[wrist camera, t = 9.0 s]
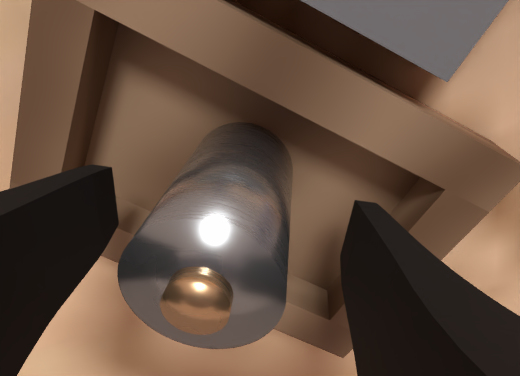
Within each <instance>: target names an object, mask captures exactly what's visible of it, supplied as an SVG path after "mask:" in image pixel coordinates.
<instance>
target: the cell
mask: <svg viewBox="0 0 520 376" xmlns="http://www.w3.org/2000/svg"><path fill="white" fill-rule="evenodd" d="M292 180H293V165H292V160H291V156H290V154H289V152H288V150H287V148H286V146H285V145H284V143H283V142H282V141H281V140H280V139H279V138H278V137H277V136H276V135H275V134H274V133H272V132H271V131H269V130H267V129H266V128H264V127H261V126H259V125H256V124H252V123H246V122H234V123H228V124H224V125H222V126H219V127H217V128H216V129H214V130H212V131H211V132H210V133H208V134H207V135H206V136H205V137H204V139H203V140H202V141H201V143H200V144H199V146H198V147H197V148H196V150H195V151H194V153H193V154H192V155H191V157H190V158H189V159H188V161H187V162H186V164H185V165H184V166H183V168H182V169H181V171H180V172H179V173H178V175H177V176H176V178H175V179H174V180H173V182H172V183H171V185H170V186H169V187H168V189H167V190H166V192H165V193H164V194H163V196H162V197H161V199H160V200H159V201H158V203H157V204H156V206H155V207H154V208H153V210H152V211H151V213H150V214H149V215H148V217H147V218H146V220H145V221H144V222H143V224H142V225H141V227H140V228H139V229H138V231H137V232H136V234H135V235H134V236H133V238H132V239H131V241H130V242H129V243H128V245H127V246H126V248H125V249H124V251H123V253H122V255H121V257H120V260H119V264H118V283H119V286H120V290H121V292H122V295H123V297H124V299H125V301H126V302H127V304H128V305H129V307H130V308H131V309H132V311H133V312H134V313H135V314H136V315H137V316H138V317H139V318H140V319H141V320H142V321H143V322H144V323H145V324H147V325H148V326H149V327H151V328H152V329H154V330H155V331H156V332H158V333H160V334H162V335H164V336H165V337H168V338H170V339H172V340H174V341H177V342H180V343H183V344H186V345H190V346H194V347H200V348H209V349H226V348H234V347H239V346H243V345H247V344H250V343H252V342H254V341H257V340H259V339H260V338H262V337H264V336H265V335H266V334H268V333H269V332H270V331H271V330H272V329H273V328H274V327H275V326H276V325H277V324H278V322H279V320H280V319H281V317H282V315H283V312H284V310H285V305H286V295H287V276H288V257H289V237H290V218H291V199H292Z"/></svg>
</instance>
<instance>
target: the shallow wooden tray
mask: <svg viewBox="0 0 520 376" xmlns="http://www.w3.org/2000/svg"><path fill="white" fill-rule="evenodd" d="M234 122H246V123H252V124H256V125H259V126H261V127H264V128H266V129H267V130H269V131H271V132H272V133H274V134H275V135H276V136H277V137H278V138H279V139H280V140H281V141H282V142H283V143H284V145H285V146H286V148H287V150H288V152H289V154H290V156H291V160H292V165H293V180H292V199H291V218H290V237H289V257H288V276H287V295H286V305H285V310H284V312H283V315H282V317H281V319H280V320H279V322H278V324H277V325H276V326H275V327H274V328H273V329H276V330H278V331H280V332H283V333H285V334H287V335H290V336H292V337H295V338H297V339H299V340H302V341H304V342H306V343H309V344H311V345H313V346H316V347H318V348H321V349H323V350H325V351H328V352H330V353H332V354H335V355H337V356H339V357H342V358H344V357H345V356H346V355H347V354H348V353H349V352H350V351H351V350H352V349H353V345H352V340H351V334H350V329H349V324H348V319H347V313H346V308H345V303H344V297H343V292H342V286H341V268H340V254H341V250H342V246H343V242H344V239H345V235H346V231H347V227H348V224H349V220H350V216H351V212H352V209H353V205H354V201H355V200H359V201H366V202H374V203H377V204H378V205H380V206H381V207H382V208H383V209H384V210H385V211H386V212H387V213H389V214H390V215H391V216H392V217H393V218H394V219H395V220H396V221H397V222H398V223H399V224H400V225H401V226H402V227H403V228H404V229H405V230H407V231H408V232H409V233H410V234H411V235H412V236H413V237H414V238H415V239H416V240H417V241H418V242H420V243H421V244H422V245H423V246H424V247H425V248H426V249H428V250H429V251H430V252H431V253H432V254H433V255H435V256H436V257H437V258H438V259H439V260H442V259H443V258H444V257H445V256H446V255H447V254H448V253H449V252H450V251H451V250H452V249H453V248H454V247H455V246H456V245H457V244H458V243H459V242H460V241H461V240H462V239H463V238H464V237H465V236H466V235H467V234H468V233H469V232H470V231H471V230H472V229H473V228H474V227H475V226H476V225H477V224H478V223H479V222H480V221H481V220H482V219H483V218H484V217H485V216H486V215H487V214H488V213H489V212H490V211H491V210H492V209H493V208H494V207H495V206H496V205H497V204H498V203H499V202H500V201H501V200H502V199H503V198H504V197H505V196H506V195H507V194H508V193H509V192H510V191H511V190H512V189H513V188H514V187H515V186H516V185H517V184H518V183H519V182H520V162H519V161H518V160H516V159H515V158H514V157H512V156H511V155H510V154H508V153H507V152H506V151H504V150H503V149H501V148H500V147H499V146H497V145H496V144H495V143H493V142H492V141H491V140H489V139H487V138H485V137H483V136H481V135H480V134H478V133H476V132H474V131H472V130H470V129H469V128H467V127H465V126H463V125H461V124H459V123H457V122H456V121H454V120H452V119H450V118H448V117H446V116H445V115H443V114H441V113H439V112H437V111H435V110H434V109H432V108H430V107H428V106H426V105H424V104H423V103H421V102H419V101H417V100H415V99H413V98H411V97H410V96H408V95H406V94H404V93H402V92H400V91H399V90H397V89H395V88H393V87H391V86H389V85H388V84H386V83H384V82H382V81H380V80H378V79H377V78H375V77H373V76H371V75H369V74H367V73H366V72H364V71H362V70H360V69H358V68H356V67H354V66H353V65H351V64H349V63H347V62H345V61H343V60H342V59H340V58H338V57H336V56H334V55H332V54H331V53H329V52H327V51H325V50H323V49H321V48H320V47H318V46H316V45H314V44H312V43H310V42H309V41H307V40H305V39H303V38H301V37H299V36H297V35H296V34H294V33H292V32H290V31H288V30H286V29H285V28H283V27H281V26H279V25H277V24H275V23H274V22H272V21H270V20H268V19H266V18H264V17H263V16H261V15H259V14H257V13H255V12H253V11H252V10H250V9H248V8H246V7H244V6H242V5H240V4H239V3H237V2H235V1H233V0H32V4H31V13H30V21H29V30H28V38H27V46H26V55H25V63H24V71H23V80H22V88H21V96H20V105H19V113H18V122H17V130H16V138H15V147H14V155H13V163H12V172H11V180H10V188H9V189H11V188H15V187H18V186H21V185H24V184H27V183H30V182H33V181H36V180H40V179H43V178H46V177H49V176H52V175H55V174H58V173H61V172H65V171H68V170H71V169H75V168H78V167H82V166H87V165H92V164H93V165H100V166H107V167H112V171H113V179H114V187H115V195H116V204H117V212H118V220H119V225H118V227H117V229H116V231H115V232H114V234H113V236H112V238H111V240H110V242H109V243H108V245H107V247H106V248H105V250H104V252H103V253H102V254H101V256H103V257H106V258H108V259H110V260H113V261H115V262H117V263H119V260H120V257H121V255H122V253H123V251H124V249H125V248H126V246H127V245H128V243H129V242H130V241H131V239H132V238H133V236H134V235H135V234H136V232H137V231H138V229H139V228H140V227H141V225H142V224H143V222H144V221H145V220H146V218H147V217H148V215H149V214H150V213H151V211H152V210H153V208H154V207H155V206H156V204H157V203H158V201H159V200H160V199H161V197H162V196H163V194H164V193H165V192H166V190H167V189H168V187H169V186H170V185H171V183H172V182H173V180H174V179H175V178H176V176H177V175H178V173H179V172H180V171H181V169H182V168H183V166H184V165H185V164H186V162H187V161H188V159H189V158H190V157H191V155H192V154H193V153H194V151H195V150H196V148H197V147H198V146H199V144H200V143H201V141H202V140H203V139H204V137H205V136H206V135H207V134H208V133H210V132H211V131H212V130H214V129H216V128H217V127H219V126H222V125H224V124H228V123H234Z"/></svg>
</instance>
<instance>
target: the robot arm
mask: <svg viewBox="0 0 520 376" xmlns="http://www.w3.org/2000/svg"><path fill="white" fill-rule="evenodd" d="M118 225H119V220H118V212H117V204H116V195H115V187H114V179H113V171H112V167H107V166H100V165H93V164H92V165H87V166H82V167H78V168H75V169H71V170H68V171H65V172H61V173H58V174H55V175H52V176H49V177H46V178H43V179H40V180H36V181H33V182H30V183H27V184H24V185H21V186H18V187H15V188H11V189H8V190H4V191H1V192H0V376H17V374H18V373H19V371H20V369H21V368H22V366H23V364H24V362H25V361H26V359H27V357H28V356H29V354H30V353H31V351H32V349H33V348H34V346H35V345H36V343H37V341H38V340H39V338H40V337H41V335H42V333H43V332H44V330H45V329H46V327H47V325H48V324H49V323H50V321H51V320H52V318H53V317H54V316H55V314H56V313H57V311H58V310H59V309H60V307H61V306H62V305H63V304H64V302H65V301H66V300H67V298H68V297H69V296H70V295H71V293H72V292H73V291H74V289H75V288H76V287H77V286H78V284H79V283H80V282H81V280H82V279H83V278H84V277H85V275H86V274H87V273H88V271H89V270H90V269H91V268H92V266H93V265H94V264H95V262H96V261H97V260H98V258H99V257H100V256H101V254H102V253H103V252H104V250H105V248H106V247H107V245H108V243H109V242H110V240H111V238H112V236H113V234H114V232H115V231H116V229H117V227H118ZM340 268H341V286H342V292H343V297H344V303H345V308H346V313H347V319H348V324H349V329H350V334H351V340H352V345H353V350H354V355H355V362H356V369H357V376H520V316H518V315H517V314H515V313H514V312H512V311H510V310H509V309H507V308H506V307H504V306H502V305H501V304H499V303H498V302H496V301H495V300H493V299H492V298H490V297H489V296H487V295H486V294H485V293H483V292H482V291H480V290H479V289H477V288H476V287H475V286H473V285H472V284H470V283H469V282H468V281H466V280H465V279H463V278H462V277H461V276H459V275H458V274H457V273H455V272H454V271H453V270H452V269H450V268H449V267H448V266H447V265H446V264H444V263H443V262H442V261H441V260H439V259H438V258H437V257H436V256H435V255H433V254H432V253H431V252H430V251H429V250H428V249H426V248H425V247H424V246H423V245H422V244H421V243H420V242H418V241H417V240H416V239H415V238H414V237H413V236H412V235H411V234H410V233H409V232H408V231H407V230H405V229H404V228H403V227H402V226H401V225H400V224H399V223H398V222H397V221H396V220H395V219H394V218H393V217H392V216H391V215H390V214H389V213H387V212H386V211H385V210H384V209H383V208H382V207H381V206H380V205H378V204H377V203H374V202H366V201H359V200H355V201H354V205H353V209H352V212H351V216H350V220H349V224H348V227H347V231H346V235H345V239H344V242H343V246H342V250H341V254H340Z"/></svg>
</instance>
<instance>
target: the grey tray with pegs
mask: <svg viewBox="0 0 520 376" xmlns="http://www.w3.org/2000/svg"><path fill="white" fill-rule="evenodd" d="M301 1H302V2H304V3H306V4H308V5H310V6H311V7H313V8H315V9H317V10H319V11H320V12H322V13H324V14H326V15H328V16H329V17H331V18H333V19H335V20H336V21H338V22H340V23H342V24H344V25H345V26H347V27H349V28H351V29H353V30H354V31H356V32H358V33H360V34H362V35H363V36H365V37H367V38H369V39H371V40H372V41H374V42H376V43H378V44H379V45H381V46H383V47H385V48H387V49H388V50H390V51H392V52H394V53H396V54H397V55H399V56H401V57H403V58H405V59H406V60H408V61H410V62H412V63H413V64H415V65H417V66H419V67H421V68H422V69H424V70H426V71H428V72H430V73H432V74H433V75H435V76H437V77H439V78H441V79H442V80H444V81H446V82H448V81H449V79H450V78H451V77H452V75H453V74H454V73H455V71H456V70H457V69H458V67H459V66H460V65H461V63H462V62H463V61H464V59H465V58H466V57H467V55H468V54H469V53H470V51H471V50H472V48H473V47H474V46H475V44H476V43H477V42H478V40H479V39H480V38H481V36H482V35H483V34H484V32H485V31H486V30H487V28H488V27H489V26H490V24H491V23H492V22H493V20H494V19H495V18H496V16H497V15H498V14H499V12H500V11H501V10H502V8H503V7H504V6H505V4H506V3H507V2H508V0H301Z"/></svg>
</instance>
